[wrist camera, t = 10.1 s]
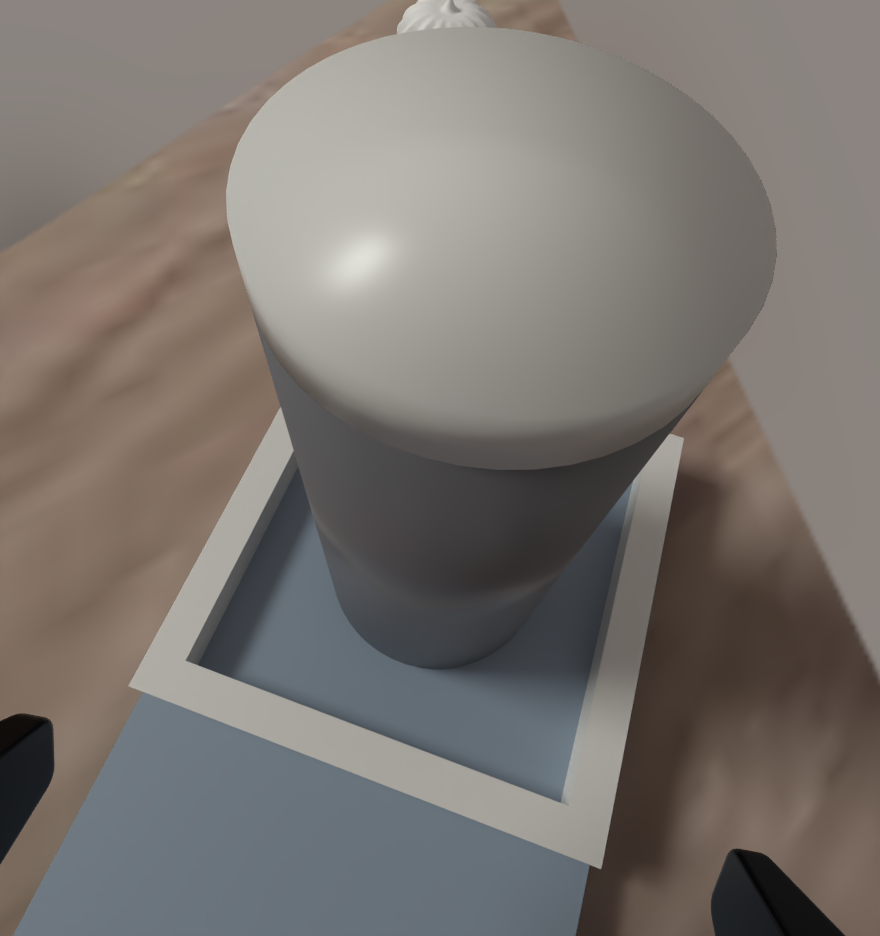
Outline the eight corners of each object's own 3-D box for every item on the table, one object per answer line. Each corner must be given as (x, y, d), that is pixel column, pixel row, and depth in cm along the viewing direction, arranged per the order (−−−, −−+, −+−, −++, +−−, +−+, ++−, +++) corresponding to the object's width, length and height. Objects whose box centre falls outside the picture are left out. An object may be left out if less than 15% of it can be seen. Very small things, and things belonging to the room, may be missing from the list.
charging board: (515, 1171, 14) (533, 1228, 12) (22, 952, 15) (-30, 975, 13) (660, 467, 22) (683, 438, 20) (331, 361, 23) (324, 325, 21)
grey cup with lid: (453, 717, 17) (585, 550, 5) (288, 574, 18) (102, 194, 7) (578, 550, 19) (860, 178, 8) (422, 435, 21) (459, -26, 9)
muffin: (337, 185, 27) (318, 4, 21) (422, 112, 29) (427, -71, 23) (459, 253, 26) (478, 80, 19) (537, 170, 28) (576, -7, 22)
